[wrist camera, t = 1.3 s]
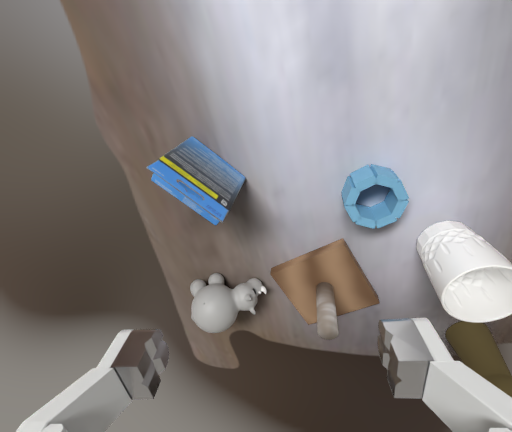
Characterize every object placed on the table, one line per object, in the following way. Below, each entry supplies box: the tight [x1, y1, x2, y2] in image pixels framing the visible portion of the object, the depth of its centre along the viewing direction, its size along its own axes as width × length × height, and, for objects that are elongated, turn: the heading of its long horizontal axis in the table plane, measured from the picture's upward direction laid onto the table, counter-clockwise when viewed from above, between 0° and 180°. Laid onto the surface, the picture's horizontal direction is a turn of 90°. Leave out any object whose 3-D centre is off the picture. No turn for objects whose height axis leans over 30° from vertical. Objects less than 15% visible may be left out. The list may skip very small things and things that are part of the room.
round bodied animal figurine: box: [190, 273, 267, 333], centre depth 44 cm, size 7×12×8 cm, turn 101°
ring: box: [341, 164, 409, 229], centre depth 34 cm, size 7×7×4 cm
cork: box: [445, 321, 512, 397], centre depth 39 cm, size 6×6×11 cm
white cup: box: [416, 221, 512, 323], centre depth 33 cm, size 8×8×10 cm
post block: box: [271, 239, 379, 340], centre depth 39 cm, size 12×12×10 cm
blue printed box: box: [146, 136, 246, 225], centre depth 32 cm, size 9×4×12 cm, turn 53°
